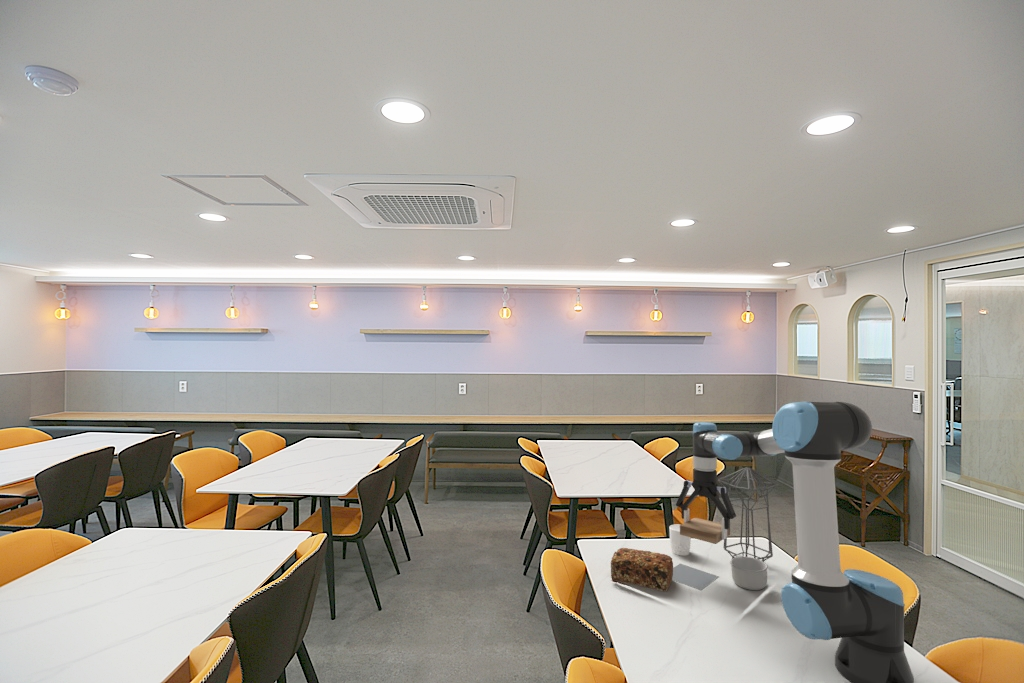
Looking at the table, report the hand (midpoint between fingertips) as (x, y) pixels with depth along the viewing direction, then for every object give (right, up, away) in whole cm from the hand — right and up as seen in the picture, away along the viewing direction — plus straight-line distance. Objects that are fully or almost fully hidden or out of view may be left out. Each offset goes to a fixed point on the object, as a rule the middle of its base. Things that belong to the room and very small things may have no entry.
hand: (705, 533), depth 164 cm
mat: (-5, -16, +1) cm, 16 cm away
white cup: (-1, -17, +21) cm, 27 cm away
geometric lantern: (+21, -17, +13) cm, 30 cm away
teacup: (+13, -16, -3) cm, 21 cm away
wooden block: (0, 0, 0) cm, 0 cm away
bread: (-22, -16, -2) cm, 27 cm away
